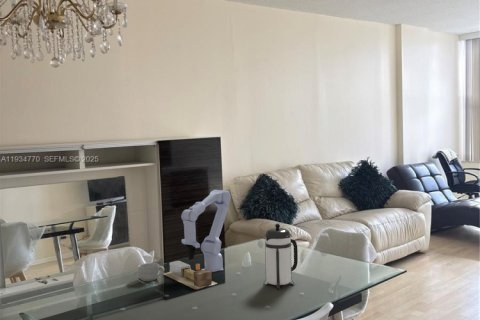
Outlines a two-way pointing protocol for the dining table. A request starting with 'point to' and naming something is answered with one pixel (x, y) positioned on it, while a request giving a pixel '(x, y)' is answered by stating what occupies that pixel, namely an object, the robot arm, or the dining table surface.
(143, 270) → the teacup
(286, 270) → the coffee press
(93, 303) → the dining table surface
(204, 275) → the walnut socket
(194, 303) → the dining table surface
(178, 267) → the steel block
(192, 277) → the gold square bar
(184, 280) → the birch board
